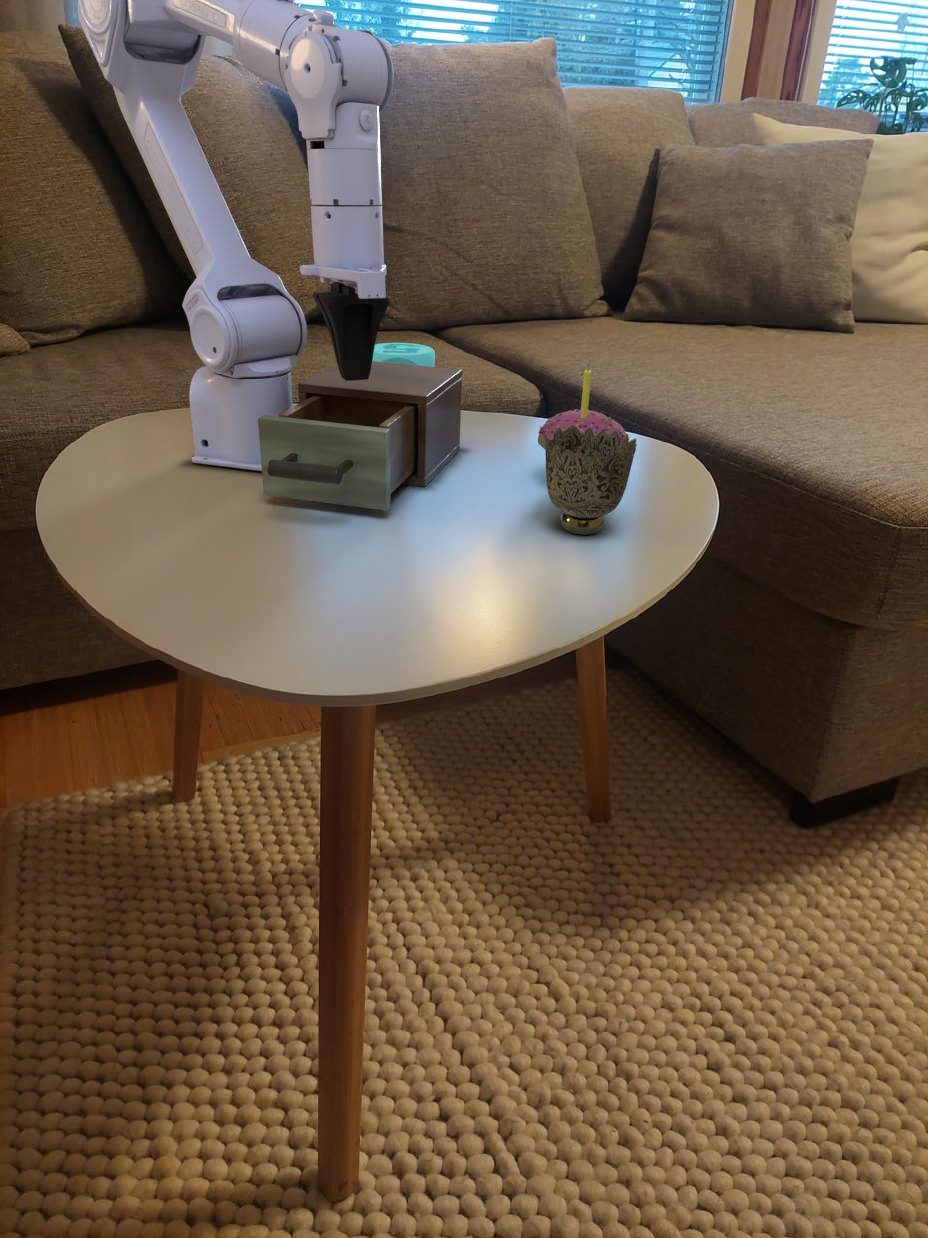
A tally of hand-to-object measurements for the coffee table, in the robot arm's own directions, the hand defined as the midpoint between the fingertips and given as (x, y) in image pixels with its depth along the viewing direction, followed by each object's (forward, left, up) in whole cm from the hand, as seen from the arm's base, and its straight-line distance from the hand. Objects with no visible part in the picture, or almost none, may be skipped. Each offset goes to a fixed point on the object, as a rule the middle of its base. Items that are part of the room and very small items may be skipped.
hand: (355, 378), depth 76 cm
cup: (+21, -2, -11) cm, 24 cm away
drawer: (-1, -2, -9) cm, 10 cm away
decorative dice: (-5, +27, -11) cm, 29 cm away
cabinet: (-1, +10, -10) cm, 14 cm away
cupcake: (+19, +10, -11) cm, 24 cm away
